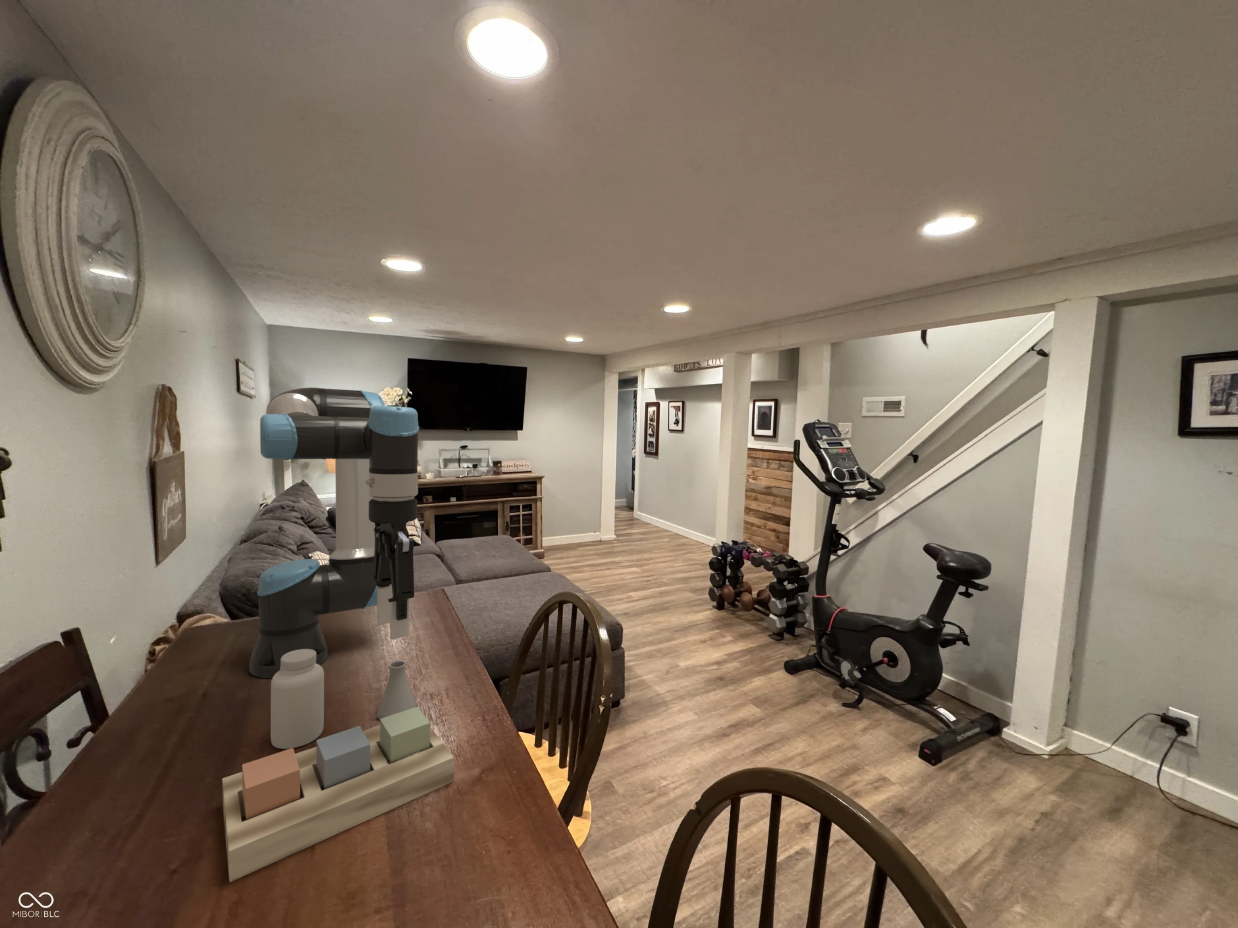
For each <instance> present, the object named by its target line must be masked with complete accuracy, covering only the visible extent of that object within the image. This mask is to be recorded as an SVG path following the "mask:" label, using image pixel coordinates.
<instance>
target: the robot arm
mask: <svg viewBox="0 0 1238 928" xmlns="http://www.w3.org/2000/svg"><path fill="white" fill-rule="evenodd" d="M418 415H419V414H418V412H417V410H416V409H414V408H413V407H406V406H405V407H404V406H393V405H392V406H389V405H388V406H387V405H386V404H385V402H384V400H383V398H382V397H381V395H380V394H379V393H377V392H371V391H366V390H365V391H364V390H360V389H359V390H357V389H340V388H338V389H337V388H321V387H300V388H295V389H289V390H288V391H283V392H281V393H279V394H277V395H276V396H274V397H273V398H271V399H270V401H269V402H268V404H267V407H266V410H265V414H264V415H262V416H261V417H260V419H259V420H260V421H259V430H260V431H259V432H260V433H259V437H260V440H259V443H260V445H259V446H260V455H261V457H263V458H265V459H269V460H282V461H290V460H334V461H335V463H334V464H335V466H334V467H335V545H336V546H335V550H334V551H333V552H332V553H331V554H330V555H328V563H327V564H320V562H319V560H318V559H316V558H301V559H295V560H290V561H286V562H282V563H279V564H276V565H274V566H271V567H269V568H267V569H265V570H264V571H263V572H262V573H261V574H260V576H259V579H258V590H257V596H258V636H257V639H256V642H255V645H254V647H253V650H252V652H251V656H250V658H249V662H248V663H249V664H248V665H249V673H250V674H251V676H254V677H258V678H262V679H272V678H273V677H274V675H275V674H276V673H277V672H278V671H280V667H281V657H282V656H283V655H285V654H286V653H288V652H291V651H295V650H300V649H311V650H314V651H315V652H316V664H318V665H320V666H321V665H322V664H323V663H324V662H325V661H326V660H327V658H328V645H327V642H326V640H325V637H324V635H323V632H322V630H321V628H320V616H322V615H328V614H332V613H333V614H335V613H339V612H346V611H352V610H353V611H354V610H359V609H360V610H364V609H366V608H370V607H375V606H376V611H377V612H376V614H377V615H376V624H377V626H382V625H386V624H389V625H390V626H389V627H390V629H389V633H390V634H389V635H390V636H389V637H390V640H392V641H393V640H397V639H400V638H405V637H408V636H410V635H409V632H410V631H409V629H410V627H409V625H410V621H409V618H410V616H409V615H410V614H409V613H410V600H411V599H413V598H414V597H415V578H414V577H415V575H414V574H415V571H414V549H415V547H414V545H415V540H414V537H410V536H409V535H410V534H409V531H407V524H408V523H409V522H410V523H411V522H413V521H415V520H416V519H418V499H416V496H417V495H418V494H419V472H418V459H419V458H418V456H419V454H418V452H419V431H420V426H419V420H418V419H419V418H418V417H419V416H418ZM376 524H380V525H379V526H376Z"/></svg>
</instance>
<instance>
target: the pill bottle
mask: <svg viewBox="0 0 1238 928" xmlns="http://www.w3.org/2000/svg"><path fill="white" fill-rule="evenodd" d="M324 708H325V671H324V668H323V667H322V665H321V664H320V665H318V664H316V652H315V651H314V650H311V649H300V650H295V651H291V652H288V653H286V654H285V655H283V656H282V657H281V667H280V671H278V672H277V673H276V674H275V675H274V677H273V678H271V681H270V742H271V745H272V746H273V747H275V748H276V749H282V750H288V749H291V748H293V749H295V748H299V747H302V746H306V745H308V744H310V743H312V742H313V741H315V740H317V739H318V738H319V737H320V736H321V735H322V733H323V731H324V725H325V721H324V719H325V715H324V714H325V709H324Z"/></svg>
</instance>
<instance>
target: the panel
mask: <svg viewBox="0 0 1238 928" xmlns="http://www.w3.org/2000/svg"><path fill="white" fill-rule="evenodd" d="M363 732H364V734H365V736H366V738H367V739H368V741H369V743H370V771H369V772H366V773H364V774H361V775H358V776H356V777H353V778H351V779H348V780H346V781H343V782H341V783H338V784H335V785H333V786H330V787H328V788H324V789H323V790H322V789H321V787H324V786H323V783H322V780H321V777H320V775H319V772H318V769H317V746H314V747H312V748H309V749H306V750H305V749H304V750H302V751H299V752H297V753H295V756H296V759H297V762H298V765H299V768H300V799H297V800H295V801H292V802H289V803H287V804H284V805H282V806H279V807H277V808H274V809H272V810H269V811H267V812H264V813H261V814H259V815H256V816H254V817H251V818H249V819H246V820H243V821H242V818H243V817H246V815H245V808H244V801H243V794H242V771H241V772H238V773H237V772H236V773H235V774H232V775H229V776H226V777H223V778H222V785H221V786H222V812H223V813H222V814H223V824H224V825H223V826H224V836H225V846H226V857H227V858H226V859H227V868H228V869H227V870H228V880H229V883H232V882H234V881H236V880H239V879H241V878H242V877H243V878H244V876H245V877H246V876H247V875H249V874H251V873H254V872H256V871H258V870H261V869H262V868H265V867H267V866H269V865H272V864H273V863H276V862H279V861H280V860H283V859H285V858H287V857H289V856H291V855H294V854H296V853H298V852H300V851H302V850H304V849H307V848H309V847H312V846H314V845H316V844H318V843H321V842H322V841H324V840H326V839H329V838H332V837H334V836H336V835H338V834H340V833H342V832H344V831H347V830H349V829H351V828H354V827H355V826H358V825H360V824H362V823H364V822H367V821H369V820H371V819H374V818H376V817H378V816H381V815H382V814H384V813H387V812H389V811H391V810H393V809H396V808H398V807H400V806H402V805H405V804H407V803H408V802H411V801H413V800H415V799H417V798H420V797H423V796H424V795H426V794H429V793H430V792H433V791H436V790H437V789H440V788H442V787H444V786H445V787H446V786H447V785H448V784H451V783H453V782H454V781H455V776H454V775H455V756H454V755H453V753H451V751H450V750H449V749H448V748H447V746H446V745H445V744H444V742H443V741H442V740H441V739H440V737H439V736H438V735H437V734H436V732H435V731H434V730H433V729H432V727H431V726H430V748H427V749H425V750H422V751H420V752H417V753H415V754H412V755H410V756H407V757H404V758H402V759H399V760H397V761H394V762H392V763H391V762H390V763H388V761H390V760H389V758H388V757H387V755H386V753H385V752H384V750H383V748H382V746H381V745H380V724H379V725H376V726H374V727H370V728H366V729H365V730H363Z"/></svg>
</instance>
